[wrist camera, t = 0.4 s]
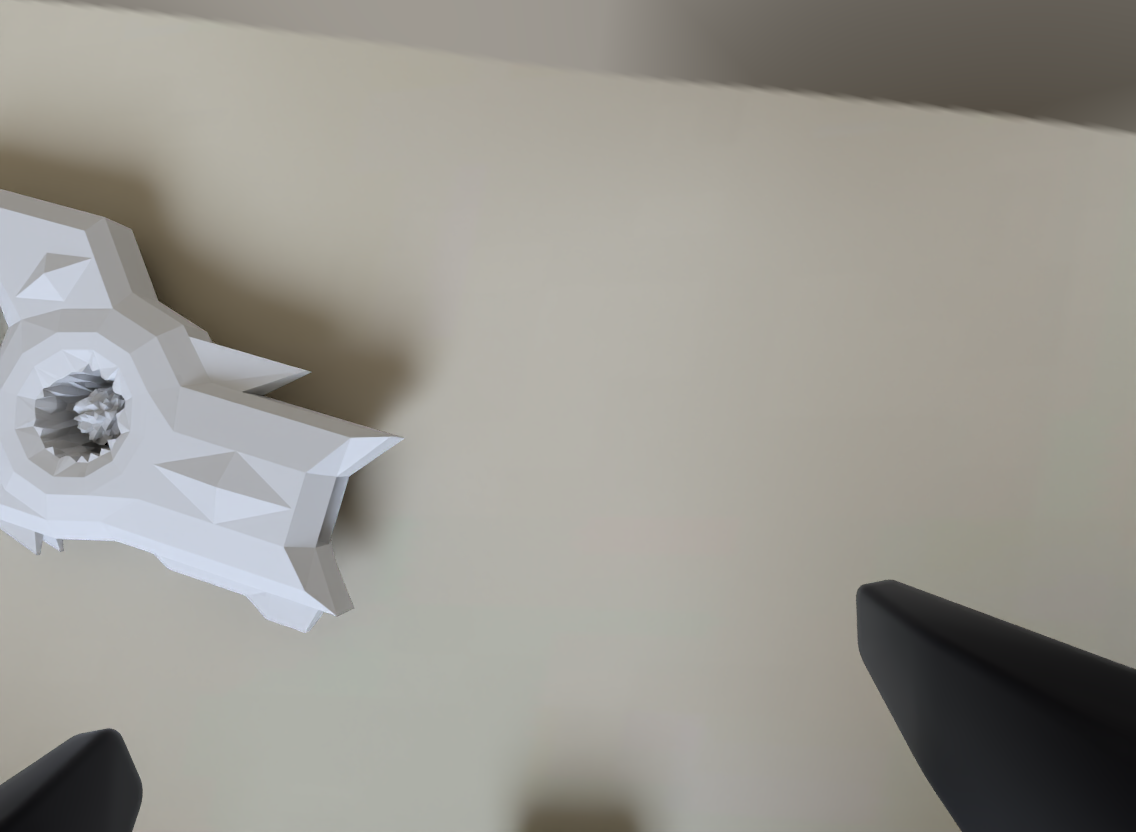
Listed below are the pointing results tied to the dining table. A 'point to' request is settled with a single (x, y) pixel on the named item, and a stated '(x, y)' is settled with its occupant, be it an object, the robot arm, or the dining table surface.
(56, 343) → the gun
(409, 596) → the dining table surface
